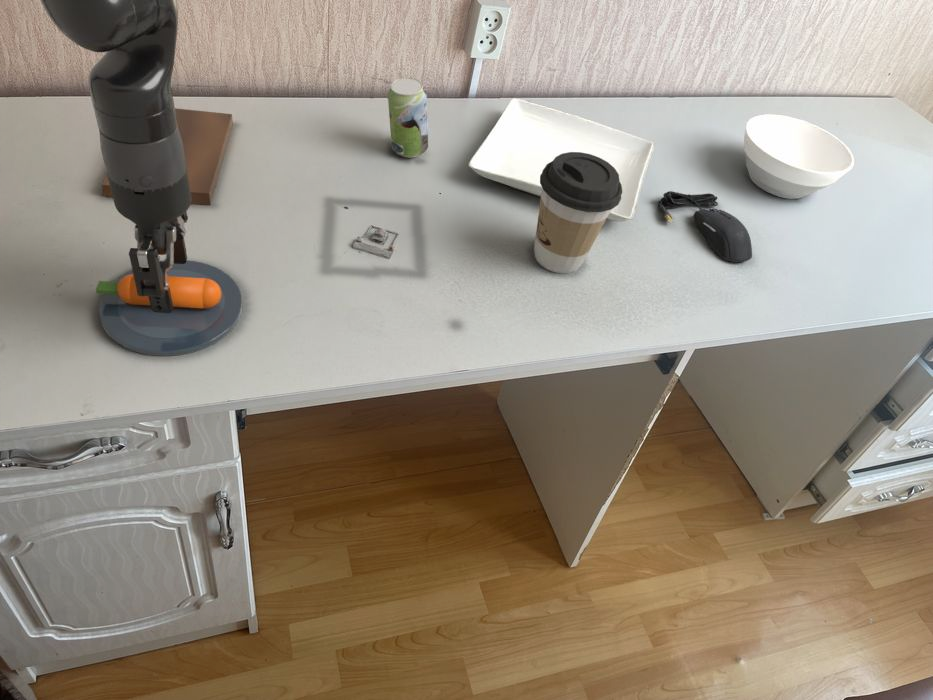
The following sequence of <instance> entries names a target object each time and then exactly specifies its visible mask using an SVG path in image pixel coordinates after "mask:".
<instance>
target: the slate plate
mask: <svg viewBox="0 0 933 700" xmlns="http://www.w3.org/2000/svg"><path fill="white" fill-rule="evenodd" d="M161 273H162V271H161ZM129 274H133V270H132V269H131V270H129V271H126V272H125V273H124V274H122V275H120V276H119V277H118V278H116V279H115V280H114V281H113V282H119V281H120V280H121V279H122V278H123V277H124V276H126V275H129ZM169 276H175V277H191V278H206V279H211V280H213V281H215V282H216V283H217V284H218V285H219V287H220V289H221V299H220V301H219V303H218V304H217V305H215V306H214V307H212V308H208V309H203V308H185V307H173V309H172V312H171V313H158V312H154V311H152V309H151V306H149V305H133V304H129V303H126V302H124V301H123V300H122V299H121V298H120V296H119V294H118V295H115V294H102V296H101V299H100V302H99V308H98V315H99V319H100V322H101V325H102V328H103V331H104V332H105V333H106V335H108V336H109V338H110V339H112V341H114V342H115V343H116V344H118V345H119V346H121V347H123V348H125V349H127V350H130V351H132V352H135V353H138V354H143V355H148V356H155V357H157V356H158V357H173V356H181V355H186V354H190V353H195V352H198V351H201V350H203V349H207V348H208V347H210V346H212V345H214V344H216V343H218V342H219V341H221V340H222V339H223V338H225V337H226V336H227V335H229V334H230V332H231V331H232V330H234V329H235V327H236V326H237V324H238V322H239V321H240V318H241V315H242V312H243V296H242V293H241V289H240V288H239V286H238V284H237V282H236V281H234V279H233V278H232V277H231V276H230V275H229V274H227V273H226V272H225V271H224V270H221V269H219V268H218V267H216V266H213V265H210V264H208V263H204V262H201V261H196V260H188V259H187V261H186V263H185V264H174V265H173V267H172V268H170V269H169Z"/></svg>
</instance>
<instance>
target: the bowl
mask: <svg viewBox="0 0 933 700" xmlns="http://www.w3.org/2000/svg"><path fill="white" fill-rule="evenodd" d="M743 152H744V153H743V154H744V157H745V165H746V169H747V171H748V176H749V178H750V180H751V181H752V182H753V183H754V184H755V186H757V187H758V188H760V189H761V190H763V191H764V192H766V193H768V194H770V195H773V196H776V197H779V198H783V199H789V200H799V199H802V198H804V197H806V196H810V195H813V194H815V193H817V192H819V191H821V190H823V189H825V188H827V187H828V186H830V185H832V184H834V183H835V182H837V181H838V180H840V179H841V178H842V177H843V176H844V175H846V174H847V173H848V172H849V171H850V170H852V169H853V167H854V164H855V158H854V156H853V153H852V151H851V149H850V148H849V147H848V146H847V145H846V144H845V143H844V142H843V141H842V140H841V139H839V138H838V137H836V136H835V135H834V134H833V133H832V132H831V133H830V132H829V131H827V130H825V129H824V128H822V127H820V126H817V125H815V124H813V123H812V122H811V123H810V122H808V121H806V120H803V119H800V118H799V119H798V118H795V117H791V116H787V115H782V114H768V113H767V114H759V115H756V116H753V117H751V118H750V119H749V120H747V122H746V124H745V127H744V136H743Z"/></svg>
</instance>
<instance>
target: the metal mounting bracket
mask: <svg viewBox="0 0 933 700" xmlns="http://www.w3.org/2000/svg"><path fill="white" fill-rule="evenodd" d="M372 228H373V229H376V230H375V231H374V232H373V234H372V236H371V237H370V238H371V239H370V242H371V243H376V244H380V245H381V246H385V244H386V242H387V240H388V239H389V234H392V235H396V236H395V238H394V240H393V241H392V243H391V245H389V246H388V248H387V249H385V248H382V247H378V246H375V245H372V244H368V243H365V242H364V240H365V239H366V237H367V236H368V234H369V233H370V232H371V230H372ZM399 235H400V234H399V233H398V232H396V231H392V230H389V229H387V228H386V229H385V228H382V227H379V226H376V225H370V227H369V229H368V230H367V231H366V233H365V234H364V236H363V237H362V236H358V237H357V238H356V240H355V241H354V242H353V244H352V249H355V250H358V253H361V251H362V252H363V253H368V254H372V255H375V256H378V257H381V258H384V259H387V260H390V259H391V258H392V255H393V253H394V251H395V249H396V248H395V246H394V244H395V243H396V241H397V239H398V237H399Z"/></svg>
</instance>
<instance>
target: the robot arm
mask: <svg viewBox="0 0 933 700" xmlns="http://www.w3.org/2000/svg"><path fill="white" fill-rule="evenodd" d="M39 1H40V3H41V5H42V7H43V9H44V11H45V13H46V15H47V16H48V18H49V19H50V21H51V22H52V23H53V25H54V26H55V27H56V28H57V29H58V30H59V31H60V32H61V33H62V34H63V35H64V36H65V37H66V38H67V39H69V41H71V42H72V43H74V44H76V45H77V46H79V47H81V48H83V49H85V50H88V51H90V52H94V53H105V54H103V56H102V57H101V58H100V59H99V60H98V61H97V62H96V63H95V64H94V65H93V66H92V67H91V69H90V71H89V74H88V79H87V80H88V81H87V82H88V89H89V95H90V98H91V103H92V107H93V112H94V115H95V119H96V124H97V126H98V132H99V143H100V151H101V155H102V160H103V163H104V167H105V168H104V169H105V172H106V175H107V176H108V180H109V184H110V188H111V192H112V196H113V197H112V200H113V203H114V207H115V209H116V211H117V212H118V213H119V214H120V215H121V216H122V217H124V218H125V219H127V220H129V221H131V222H132V223H133V224H135V225H134V239H135V240H136V247H130V248H129V251H128V256H129V260H130V261H129V262H130V265H131V270H133V275H134V280H135V284H136V289H137V294H138V296H148V297H149V301H150V305H151V309H152V311H154V312H158V313H171V312H172V309H173V302H172V297H171V292H170V287H169V269H170V268H172V267H173V265H174V264H185V263H186V261H187V260H188V253H187V247H186V242H185V236H186V233H187V229H186V227H185V223H186V224H187V222H188V220H189V215H188V213H187V211H188V210H189V209H190V206H191V205H192V204H191V192H190V186H189V179H188V173H187V166H186V160H185V154H184V147H183V142H182V139H181V135H180V133H179V129H178V125H177V119H176V113H175V108H176V107H175V100H174V95H173V89H172V78H173V71H174V65H175V57H176V49H177V48H176V46H177V38H178V37H177V36H178V24H179V8H178V6H179V5H178V0H39ZM160 256H165V259H164V260H161V257H160ZM161 271H162V273H161Z"/></svg>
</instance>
